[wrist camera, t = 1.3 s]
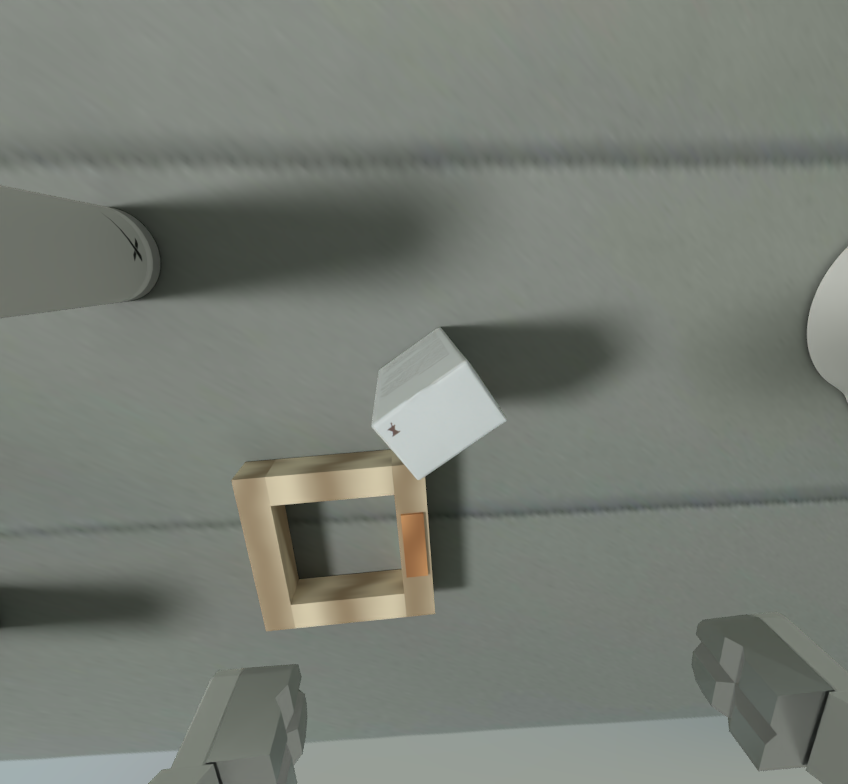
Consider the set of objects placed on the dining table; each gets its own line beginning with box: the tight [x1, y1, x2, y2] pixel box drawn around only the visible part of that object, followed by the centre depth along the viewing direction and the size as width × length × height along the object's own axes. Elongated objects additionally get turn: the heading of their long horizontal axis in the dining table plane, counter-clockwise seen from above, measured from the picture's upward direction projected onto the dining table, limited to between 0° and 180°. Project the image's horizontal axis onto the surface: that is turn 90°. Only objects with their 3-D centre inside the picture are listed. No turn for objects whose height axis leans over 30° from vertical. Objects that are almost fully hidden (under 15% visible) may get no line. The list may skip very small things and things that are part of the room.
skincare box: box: [372, 327, 507, 480], centre depth 27 cm, size 6×4×12 cm
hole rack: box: [231, 450, 435, 631], centre depth 35 cm, size 15×15×3 cm
